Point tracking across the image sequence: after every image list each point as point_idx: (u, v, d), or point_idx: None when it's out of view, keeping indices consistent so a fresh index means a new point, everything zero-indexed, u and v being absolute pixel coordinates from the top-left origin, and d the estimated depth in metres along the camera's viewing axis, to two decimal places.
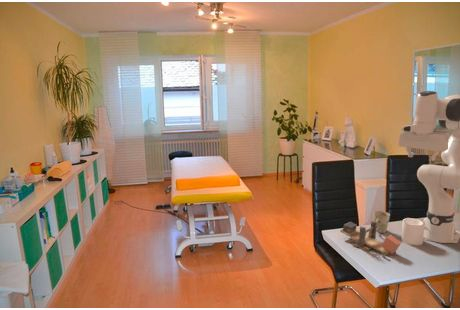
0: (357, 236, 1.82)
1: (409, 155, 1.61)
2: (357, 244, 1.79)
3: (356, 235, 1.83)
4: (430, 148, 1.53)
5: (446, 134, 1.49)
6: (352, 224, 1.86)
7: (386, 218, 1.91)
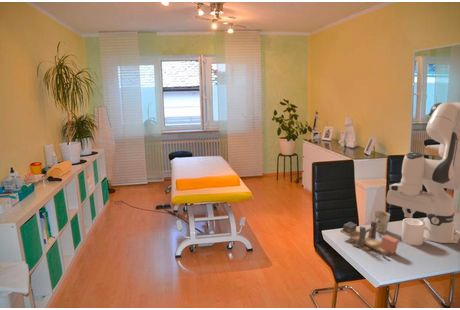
0: (357, 236, 1.82)
1: (405, 215, 1.61)
2: (357, 244, 1.79)
3: (356, 235, 1.83)
4: (417, 209, 1.56)
5: (432, 197, 1.52)
6: (352, 224, 1.86)
7: (386, 218, 1.91)
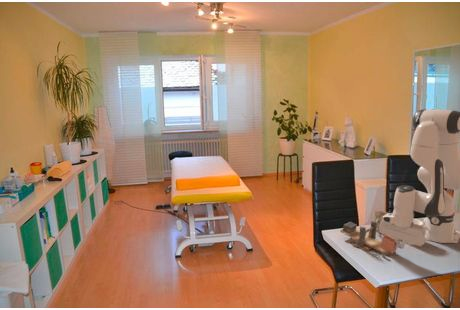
0: (357, 236, 1.82)
1: (397, 245, 1.66)
2: (357, 244, 1.79)
3: (356, 235, 1.83)
4: (408, 240, 1.61)
5: (423, 230, 1.57)
6: (352, 224, 1.86)
7: None
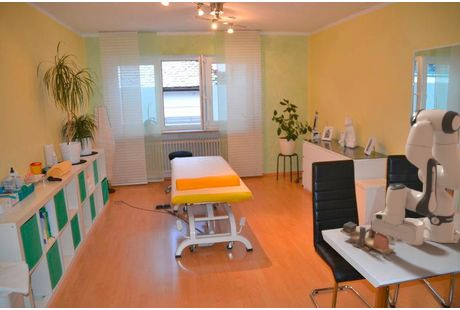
0: (357, 236, 1.82)
1: (390, 243, 1.69)
2: (357, 244, 1.79)
3: (356, 235, 1.83)
4: (399, 237, 1.64)
5: (414, 227, 1.59)
6: (352, 224, 1.86)
7: None
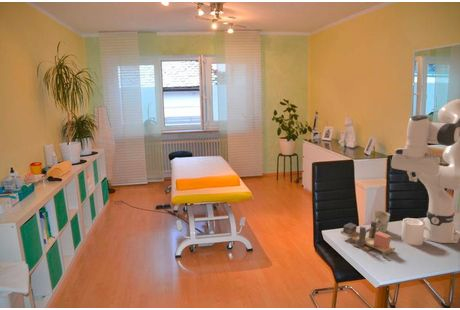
0: (357, 237, 1.81)
1: (410, 179, 1.61)
2: (357, 244, 1.79)
3: (356, 236, 1.82)
4: (422, 171, 1.56)
5: (437, 158, 1.52)
6: (352, 225, 1.86)
7: (386, 218, 1.91)
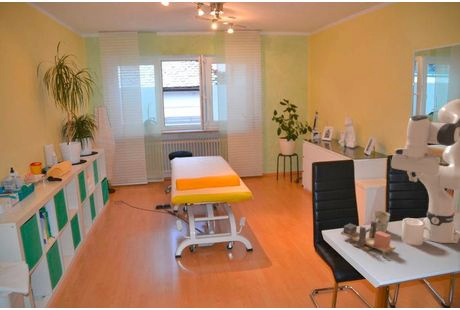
0: (358, 237, 1.81)
1: (410, 179, 1.61)
2: (357, 244, 1.79)
3: (357, 236, 1.82)
4: (422, 171, 1.56)
5: (437, 158, 1.52)
6: (352, 225, 1.86)
7: (386, 218, 1.91)
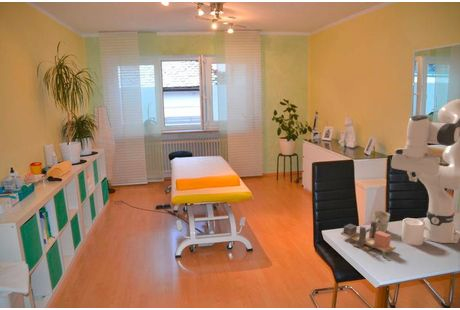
0: (358, 237, 1.81)
1: (410, 179, 1.61)
2: (357, 244, 1.79)
3: (357, 236, 1.82)
4: (422, 171, 1.56)
5: (437, 158, 1.52)
6: (352, 226, 1.86)
7: (386, 218, 1.91)
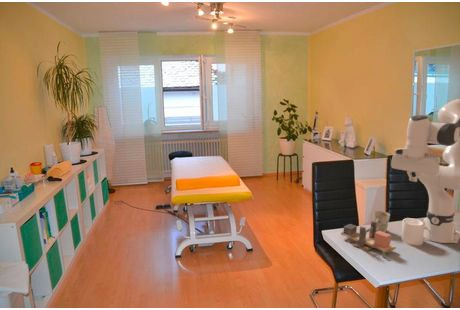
0: (358, 237, 1.81)
1: (410, 179, 1.61)
2: (357, 244, 1.79)
3: (357, 236, 1.82)
4: (422, 171, 1.56)
5: (437, 158, 1.52)
6: (352, 226, 1.86)
7: (386, 218, 1.91)
